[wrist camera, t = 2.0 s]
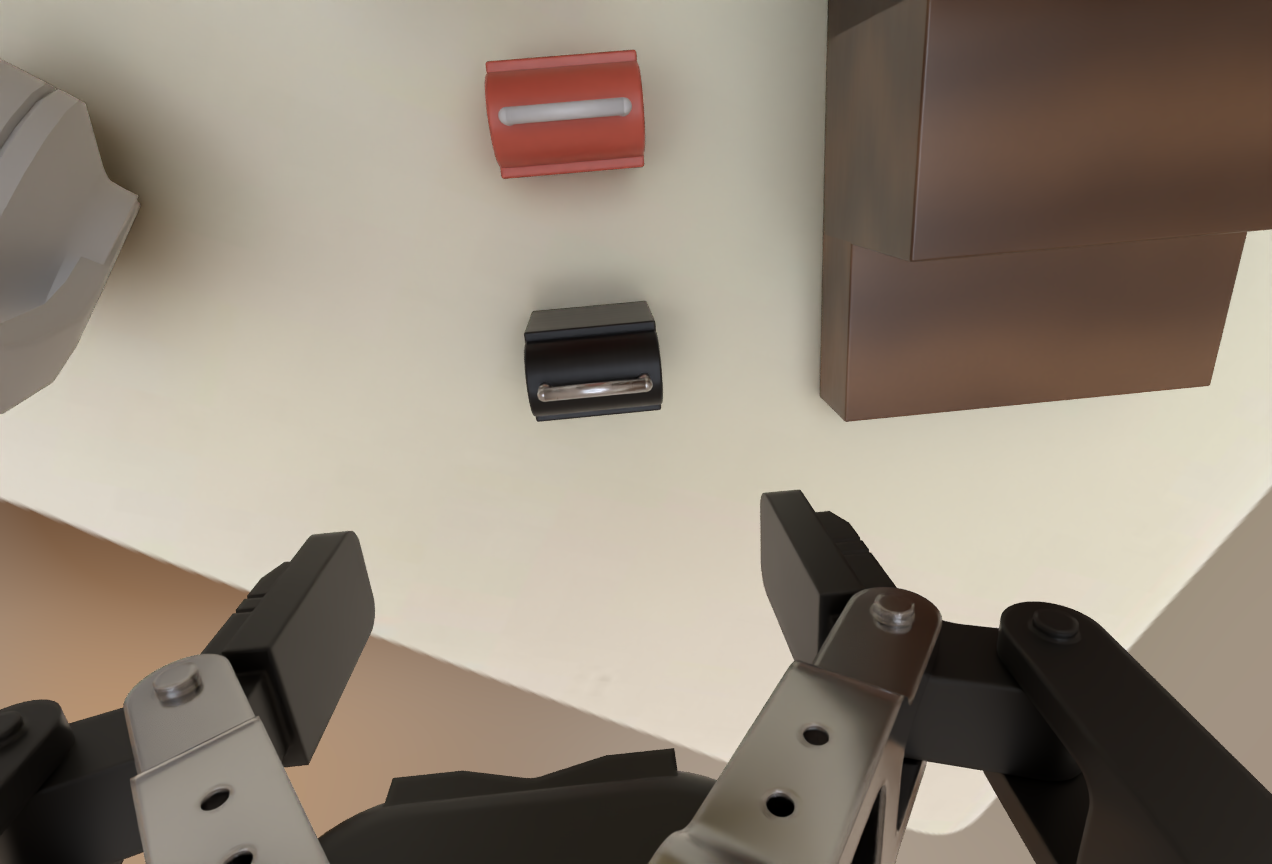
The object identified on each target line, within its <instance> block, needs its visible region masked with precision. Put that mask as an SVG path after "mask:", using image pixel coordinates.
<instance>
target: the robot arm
mask: <svg viewBox="0 0 1272 864" xmlns="http://www.w3.org/2000/svg"><path fill="white" fill-rule="evenodd" d="M760 521H761V571H762V578H763V583H764V587H765V591H766V594H767V596H768V598H769V601H770V603H771V606H772V608H773V610H774V613H775V615H776V618H777V620H778V622H779V625H780V627H781V630H782V632H783V634H784V637H785V639H786V642H787V644H788V647H789V649H790V651H791V654H792V656H793V659H794V662H793V663H792V664H791V665H790V666H789V668H788V669H787V671H786V672H785V674H784V675H783V677H782V679H781V680H780V682H779V683H778V685H777V686H776V688H775V690H774V691H773V693H772V694H771V696H770V697H769V699H768V701H767V702H766V704H765V705H764V707H763V709H762V710H761V712H760V713H759V715H758V716H757V718H756V720H755V721H754V723H753V724H752V726H751V727H750V729H749V731H748V732H747V734H746V735H745V737H744V738H743V740H742V742H741V743H740V745H739V746H738V748H737V750H736V751H735V753H734V754H733V756H732V757H731V759H730V761H729V762H728V764H727V765H726V767H725V768H724V770H723V772H722V773H721V775H720V776H719V778H718V779H717V780H715V779H712V778H709V777H706V776H702V775H698V774H694V773H690V772H683V771H677V765H676V758H675V751H674V748H672V749H664V750H653V751H644V752H634V753H626V754H616V755H606V756H603V757H600V758H597V759H593V760H590V761H587V762H584V763H581V764H578V765H575V766H572V767H569V768H566V769H562V770H559V771H556V772H553V773H550V774H547V775H544V776H541V777H537V778H520V777H512V776H503V775H494V774H486V773H477V772H470V771H455V772H446V773H436V774H427V775H418V776H409V777H399V778H393V779H392V783H391V786H390V789H389V792H388V795H387V798H386V801H385V803H383V804H380V805H377V806H375V807H372V808H370V809H368V810H365V811H363V812H361V813H358V814H357V815H355V816H353V817H351V818H349V819H347V820H345V821H343V822H342V823H340V824H338V825H337V826H335V827H334V828H332V829H331V830H329V831H327V832H326V833H325V834H324V835H322V836H320V837H319V838H317V836H316V834H315V832H314V830H313V828H312V826H311V824H310V822H309V819H308V817H307V815H306V813H305V811H304V809H303V807H302V805H301V803H300V801H299V799H298V796H297V794H296V792H295V790H294V788H293V786H292V784H291V782H290V780H289V778H288V776H287V773H286V771H285V769H284V767H292V766H302V765H309V763H310V761H311V758H312V756H313V754H314V752H315V750H316V748H317V746H318V743H319V741H320V739H321V737H322V735H323V733H324V731H325V729H326V727H327V725H328V722H329V720H330V718H331V716H332V714H333V712H334V710H335V708H336V705H337V703H338V701H339V699H340V697H341V695H342V693H343V691H344V689H345V686H346V684H347V682H348V680H349V678H350V676H351V674H352V672H353V670H354V667H355V665H356V663H357V661H358V659H359V657H360V655H361V653H362V650H363V648H364V646H365V644H366V642H367V640H368V638H369V636H370V634H371V631H372V629H373V625H374V618H375V604H374V598H373V593H372V589H371V585H370V582H369V578H368V574H367V570H366V566H365V562H364V558H363V554H362V550H361V546H360V542H359V539H358V537H357V535H356V534H355V533H354V532H353V531H345V532H334V533H324V534H314V535H311V536H310V537H309V538H308V539H307V540H306V542H305V543H304V544H303V546H302V547H301V548H300V550H299V551H298V552H297V554H296V555H295V556H294V558H293V559H292V560H291V561H290V562H284V563H282V564H281V565H280V566H278V567H277V568H275V569H274V570H272V571H271V572H270V573H268V574H267V575H265V576H264V577H262V578H261V579H260V580H259V582H258V583H257V584H256V585H255V587H254V588H253V589H252V590H251V592H250V593H249V594H248V596H247V599H244V600H243V602H242V603H241V604H240V605H239V607H238V608H237V609H236V613H235V614H232V615H231V617H230V618H229V619H228V620H227V622H226V623H225V624H224V625H223V627H222V628H221V629H220V630H219V631H218V633H217V634H216V635H215V636H214V638H213V639H212V640H211V641H210V643H209V644H208V645H207V646H206V648H205V649H204V650H203V651H202V653H201V654H200V655H194V656H190V657H186V658H183V659H180V660H177V661H175V662H172V663H170V664H168V665H165V666H163V667H162V668H160V669H158V670H156V671H154V672H153V673H151V674H149V675H148V676H146V677H145V678H144V679H143V680H141V681H140V682H139V683H138V684H137V685H136V686H135V687H133V689H132V690H131V691H130V692H129V693H128V695H127V697H126V699H125V701H124V704H123V705H124V706H123V708H120V709H117V710H113V711H110V712H106V713H103V714H100V715H97V716H93V717H90V718H86V719H83V720H79V721H76V722H73V723H68V721H67V719H66V717H65V715H64V713H63V711H62V709H61V707H60V705H59V704H58V703H56V702H55V701H51V700H32V701H27V702H23V703H19V704H15V705H12V706H9V707H7V708H4V709H1V710H0V864H122V862H123V860H124V859H126V858H129V857H131V856H134V855H137V854H140V853H142V852H144V857H145V862H146V864H895V863H896V859H897V855H898V851H899V848H900V845H901V842H902V839H903V836H904V833H905V830H906V826H907V823H908V820H909V817H910V814H911V811H912V808H913V805H914V802H915V798H916V795H917V792H918V789H919V786H920V783H921V780H922V777H923V774H924V770H925V767H926V764H927V761H928V762H934V763H940V764H946V765H952V766H959V767H965V768H971V769H977V770H983V772H984V774H985V776H986V777H987V779H988V781H989V783H990V784H991V786H992V788H993V790H994V791H995V793H996V795H997V796H998V798H999V800H1000V802H1001V803H1002V805H1003V807H1004V809H1005V810H1006V812H1007V814H1008V816H1009V817H1010V819H1011V821H1012V822H1013V824H1014V826H1015V828H1016V829H1017V831H1018V833H1019V835H1020V836H1021V838H1022V840H1023V842H1024V843H1025V845H1026V847H1027V848H1028V850H1029V852H1030V854H1031V856H1032V857H1033V859H1034V861H1035V862H1036V864H1272V794H1271V793H1270V792H1269V791H1268V790H1267V789H1266V788H1265V787H1264V786H1263V785H1262V784H1261V783H1260V782H1259V781H1258V780H1257V779H1256V778H1255V777H1254V776H1253V775H1252V774H1251V773H1250V772H1249V771H1248V770H1247V769H1246V768H1245V767H1244V766H1243V765H1242V764H1240V762H1238V761H1237V759H1235V758H1234V757H1233V756H1232V755H1231V754H1230V753H1229V752H1228V751H1227V750H1226V749H1225V748H1224V747H1223V746H1222V745H1221V744H1220V743H1219V742H1218V741H1217V740H1216V739H1215V738H1214V737H1213V736H1212V735H1211V734H1210V733H1209V732H1208V731H1207V730H1206V729H1205V728H1204V727H1203V726H1202V725H1201V724H1200V723H1199V722H1198V721H1197V720H1196V719H1195V718H1194V717H1193V716H1192V715H1191V714H1190V713H1189V712H1188V711H1187V710H1186V709H1185V708H1184V707H1183V706H1182V705H1181V704H1180V703H1179V702H1178V701H1177V700H1176V699H1175V698H1174V697H1172V696H1171V694H1170V693H1169V692H1168V691H1167V690H1166V689H1164V688H1163V687H1162V686H1161V685H1160V684H1159V683H1158V682H1157V681H1156V680H1155V679H1154V678H1153V677H1152V676H1151V675H1150V674H1149V673H1148V672H1147V671H1146V670H1145V669H1144V668H1143V667H1142V666H1141V665H1140V664H1139V663H1138V662H1137V661H1136V660H1135V659H1134V658H1133V657H1132V656H1131V655H1130V654H1129V653H1128V652H1127V651H1126V650H1125V649H1124V648H1123V647H1122V646H1121V645H1120V644H1119V643H1118V642H1117V641H1116V640H1115V639H1114V638H1113V637H1112V636H1111V635H1110V634H1109V633H1108V632H1107V631H1106V630H1105V629H1104V628H1103V627H1102V626H1100V625H1099V624H1098V623H1097V622H1096V621H1094V620H1093V619H1091V618H1090V617H1088V616H1086V615H1084V614H1082V613H1080V612H1078V611H1076V610H1073V609H1071V608H1068V607H1065V606H1061V605H1057V604H1052V603H1046V602H1022V603H1017V604H1014V605H1012V606H1009V607H1008V608H1007V609H1005V610H1004V612H1003V613H1002V615H1001V619H1000V626H999V628H990V627H981V626H972V625H963V624H956V623H951V622H947V621H943V620H942V616H941V614H940V612H939V610H938V609H937V607H936V606H935V605H934V604H933V603H932V602H930V601H929V600H927V599H926V598H924V597H922V596H920V595H918V594H916V593H914V592H911V591H907V590H904V589H899V588H897V587H896V586H895V585H894V583H893V582H892V581H891V579H890V578H889V576H888V575H887V574H886V572H885V571H884V570H883V568H882V567H881V566H880V564H879V563H878V561H877V560H876V559H875V557H874V556H873V555H872V553H869V549H868V548H867V546H866V545H865V544H864V542H863V541H862V540H861V541H860V537H859V536H858V534H857V533H856V531H855V530H854V529H853V527H852V526H851V525H850V523H849V522H847V521H845V520H844V519H842V518H840V517H838V516H837V515H835V514H833V513H832V512H830V511H825V512H815V511H814V510H813V508H812V507H811V505H810V503H809V502H808V500H807V499H806V497H805V496H804V494H803V493H802V491H801V490H790V491H779V492H768V493H763V494H762V496H761V503H760Z"/></svg>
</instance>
